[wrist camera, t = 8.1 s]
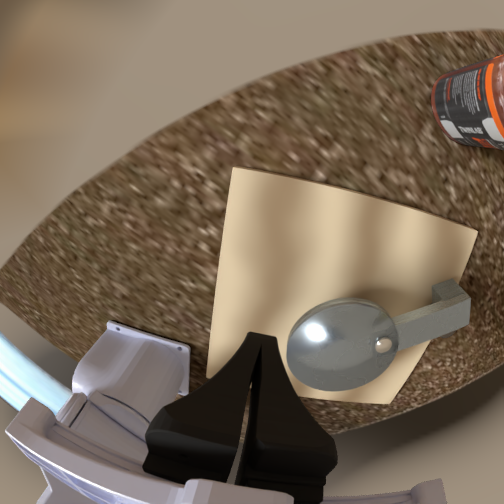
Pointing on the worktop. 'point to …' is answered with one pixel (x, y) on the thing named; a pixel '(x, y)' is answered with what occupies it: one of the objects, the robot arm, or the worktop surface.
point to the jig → (325, 266)
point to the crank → (366, 336)
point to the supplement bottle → (472, 104)
